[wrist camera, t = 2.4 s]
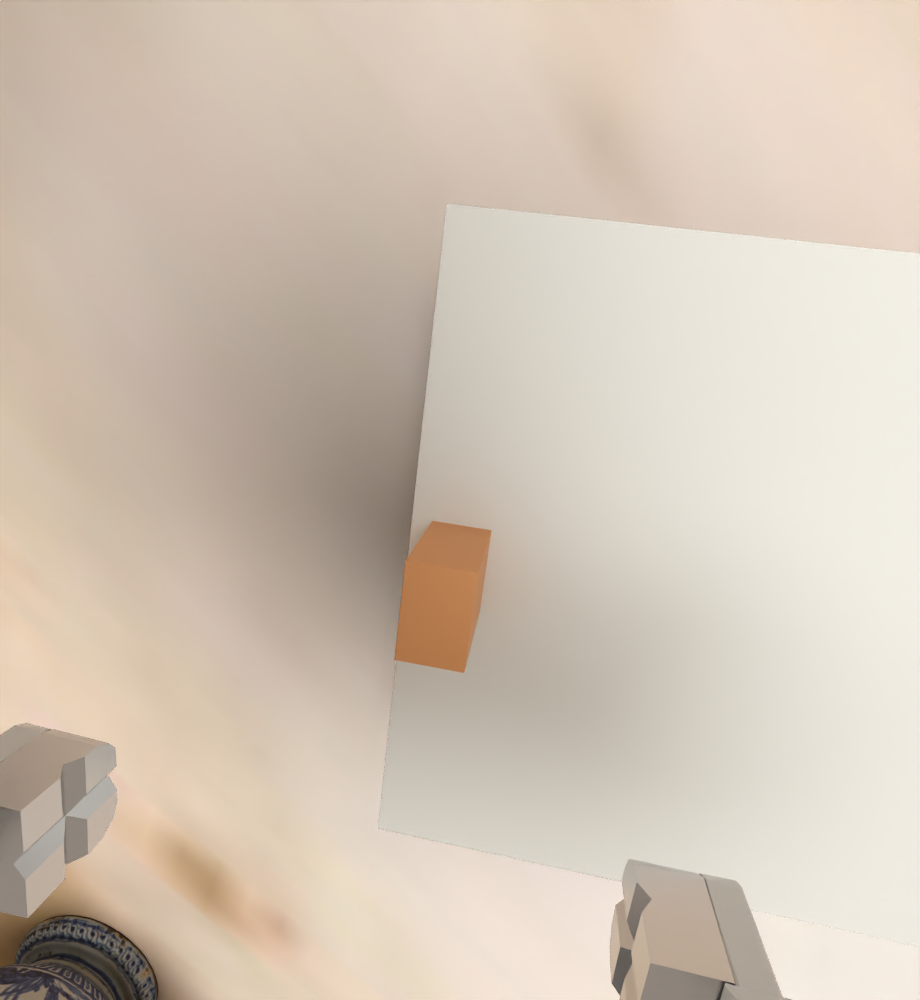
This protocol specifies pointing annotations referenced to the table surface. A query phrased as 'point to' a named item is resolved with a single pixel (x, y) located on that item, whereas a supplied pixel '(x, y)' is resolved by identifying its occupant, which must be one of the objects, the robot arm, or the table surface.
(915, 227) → the table surface
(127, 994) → the decorative vase
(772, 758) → the box lid
